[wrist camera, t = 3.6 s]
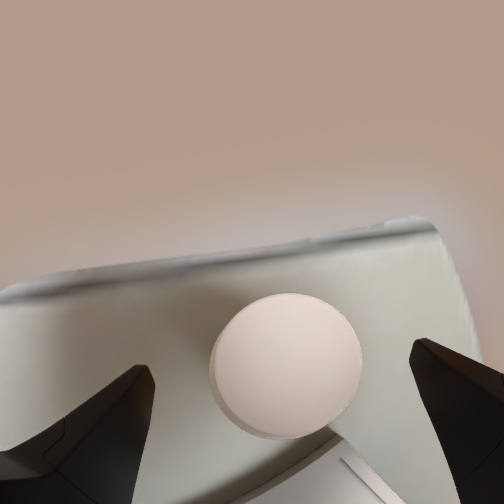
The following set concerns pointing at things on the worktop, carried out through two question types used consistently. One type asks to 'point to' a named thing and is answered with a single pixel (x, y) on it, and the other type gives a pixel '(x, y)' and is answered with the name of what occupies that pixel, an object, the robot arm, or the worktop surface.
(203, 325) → the worktop surface
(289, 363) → the supplement bottle
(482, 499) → the robot arm
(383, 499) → the charcoal tray
